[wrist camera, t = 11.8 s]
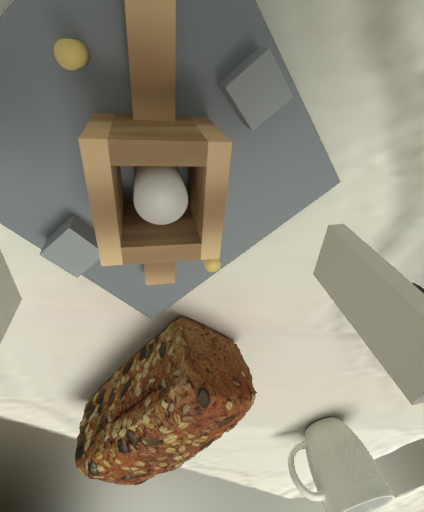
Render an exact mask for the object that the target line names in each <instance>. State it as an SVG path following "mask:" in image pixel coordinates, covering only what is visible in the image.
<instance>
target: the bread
mask: <svg viewBox="0 0 424 512" xmlns="http://www.w3.org/2000/svg"><path fill="white" fill-rule="evenodd" d="M256 393H257V392H256V391H255V390H254V388H253V385H252V375H251V374H250V370H249V367H248V366H247V364H246V363H245V361H244V359H243V356H242V355H241V353H240V349H239V348H238V347H237V344H234V343H233V342H232V341H231V340H230V339H229V338H227V337H226V336H224V335H222V334H219V333H218V332H216V331H214V330H212V329H209V328H208V327H206V326H205V325H202V324H200V323H198V322H196V321H194V320H192V319H190V318H185V317H182V318H179V319H177V320H176V321H171V323H170V324H169V326H168V327H167V329H166V330H165V331H164V332H163V333H161V334H160V335H158V336H157V337H156V338H154V339H152V340H151V341H150V342H149V343H147V344H146V346H143V348H142V349H141V350H140V351H139V352H138V353H137V354H135V355H134V356H133V357H132V358H131V359H130V360H129V361H128V362H126V363H125V364H124V365H123V366H121V367H120V368H119V369H118V370H117V371H116V372H115V373H114V374H113V376H112V377H111V378H110V379H109V380H108V381H107V382H106V383H105V384H104V386H102V387H101V388H100V390H99V391H98V392H97V393H96V394H95V395H93V396H92V397H91V398H90V400H89V402H88V403H87V404H86V406H85V409H84V415H83V420H82V421H81V422H80V428H79V429H80V434H79V435H78V437H77V448H76V454H75V461H76V467H77V468H78V469H79V470H80V472H81V473H82V474H83V475H85V476H88V477H89V478H90V479H98V480H102V481H105V482H110V483H115V484H120V485H132V484H134V485H137V484H141V483H143V482H145V481H146V480H148V479H150V478H152V477H154V476H155V475H157V474H160V473H164V472H168V471H172V470H175V469H177V468H178V467H180V466H181V465H182V464H183V463H184V462H185V461H187V460H189V459H191V458H192V457H194V456H195V455H196V454H197V453H198V452H200V451H202V450H203V449H204V448H206V447H208V446H209V445H210V444H211V443H212V442H213V441H215V440H217V439H219V438H220V437H221V436H222V434H223V433H224V432H228V431H229V430H231V429H233V428H234V427H235V425H237V423H238V421H240V420H241V419H242V418H243V417H244V416H245V414H246V412H248V411H249V409H250V407H251V406H252V405H253V403H254V400H255V394H256Z"/></svg>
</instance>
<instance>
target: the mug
mask: <svg viewBox="0 0 424 512" xmlns="http://www.w3.org/2000/svg"><path fill="white" fill-rule="evenodd" d="M301 449H306V454H307V459H308V463H309V467H310V471H311V474H312V477H313V480H314V482H315V486H316V488H317V491H318V492H311V491H309V490H308V489H307V488H306V487H305V486H304V485H303V484H302V483H301V481H300V480H299V478H298V476H297V474H296V471H295V467H294V457H295V454H296V453H297V452H298V451H299V450H301ZM288 468H289V472H290V476H291V478H292V481H293V483H294V484H295V486H296V488H297V489H298V490H299V492H300V493H301V494H302V495H303V496H305V497H306V498H308V499H310V500H313V501H322V503H323V505H324V507H325V510H326V512H375V511H377V510H379V509H381V508H383V507H385V506H386V505H388V504H389V503H391V502H392V501H393V500H394V499H395V496H394V494H393V492H392V491H391V489H390V487H389V486H388V484H387V482H386V480H385V478H384V477H383V474H381V472H380V469H379V468H378V466H377V464H376V463H375V461H374V460H373V458H372V456H371V455H370V453H369V452H368V450H367V449H366V447H365V446H364V445H363V443H362V442H361V440H360V439H359V438H358V437H357V436H356V435H355V433H354V432H353V431H352V430H351V429H350V428H349V427H348V426H347V425H345V424H344V423H343V422H342V421H340V420H339V419H337V418H334V417H328V418H324V419H320V420H318V421H316V422H314V423H313V424H311V425H310V426H309V427H308V428H307V430H306V433H305V441H303V442H301V443H299V444H297V445H296V446H295V447H294V448H293V449H292V450H291V452H290V454H289V457H288Z"/></svg>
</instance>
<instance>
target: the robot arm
mask: <svg viewBox="0 0 424 512" xmlns="http://www.w3.org/2000/svg"><path fill="white" fill-rule="evenodd" d="M313 274H314V276H315V277H316V278H317V280H318V281H319V282H320V284H321V285H322V286H323V288H324V289H325V290H326V292H327V293H328V294H329V296H330V297H331V298H332V300H333V301H334V302H335V304H336V305H337V306H338V308H339V309H340V310H341V312H342V313H343V314H344V316H345V317H346V318H347V320H348V321H349V322H350V323H351V325H352V326H353V327H354V329H355V330H356V331H357V333H358V334H359V335H360V337H361V338H362V339H363V341H364V342H365V343H366V345H367V346H368V347H369V349H370V350H371V351H372V353H373V354H374V355H375V357H376V358H377V359H378V361H379V362H380V363H381V365H382V366H383V367H384V369H385V370H386V371H387V373H388V374H389V375H390V376H391V378H392V379H393V380H394V382H395V383H396V384H397V386H398V387H399V388H400V390H401V391H402V392H403V394H404V395H405V396H406V398H407V399H408V400H409V402H410V403H411V404H412V405H415V404H420V403H424V288H422V287H420V286H418V285H416V284H415V283H411V282H410V281H409V280H408V279H406V278H405V277H404V276H403V275H402V274H401V273H400V272H398V271H397V270H396V269H395V268H394V267H393V266H392V265H390V264H389V263H388V262H387V261H386V260H385V259H383V258H382V257H381V256H380V255H379V254H378V253H377V252H375V251H374V250H373V249H372V248H371V247H370V246H369V245H367V244H366V243H365V242H364V241H363V240H362V239H361V238H359V237H358V236H357V235H356V234H355V233H354V232H353V231H351V230H350V229H349V228H348V227H347V226H346V225H344V224H339V225H328V229H327V232H326V235H325V238H324V241H323V244H322V248H321V251H320V254H319V257H318V260H317V264H316V267H315V270H314V273H313ZM21 300H22V298H21V296H20V294H19V291H18V289H17V287H16V285H15V282H14V280H13V278H12V275H11V273H10V271H9V269H8V266H7V264H6V262H5V259H4V257H3V255H2V253H1V250H0V343H1V341H2V339H3V337H4V335H5V333H6V331H7V329H8V327H9V325H10V323H11V320H12V318H13V316H14V314H15V312H16V310H17V308H18V306H19V304H20V302H21Z"/></svg>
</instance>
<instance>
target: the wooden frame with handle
mask: <svg viewBox="0 0 424 512" xmlns="http://www.w3.org/2000/svg"><path fill="white" fill-rule="evenodd" d="M124 1H125V14H126V28H127V41H128V55H129V68H130V82H131V95H132V109H133V114H111V113H93V115H92V117H91V118H90V120H89V122H88V123H87V125H86V127H85V128H84V130H83V131H82V133H81V135H80V136H79V138H78V140H79V146H80V151H81V157H82V162H83V168H84V174H85V179H86V185H87V190H88V196H89V201H90V207H91V212H92V218H93V223H94V229H95V235H96V240H97V246H98V251H99V257H100V262H101V266H113V265H129V264H144V271H145V285H156V284H169V283H175V262H176V261H192V260H207V259H220V250H221V241H222V232H223V223H224V214H225V205H226V196H227V187H228V178H229V169H230V160H231V151H232V141H231V140H230V139H229V138H228V137H227V136H226V135H225V134H224V133H223V132H222V131H221V130H220V129H219V128H218V127H217V126H216V125H215V124H214V123H213V122H212V121H211V120H210V119H209V118H207V117H183V116H175V62H176V0H124ZM120 166H188V205H187V208H186V210H185V212H184V214H183V215H182V216H181V217H180V218H179V219H178V220H176V221H174V222H172V223H169V224H164V225H157V224H153V223H150V222H148V221H146V220H144V219H143V218H142V217H141V216H140V215H139V214H138V213H137V211H136V209H135V206H134V202H124V196H123V186H122V177H121V168H120Z"/></svg>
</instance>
